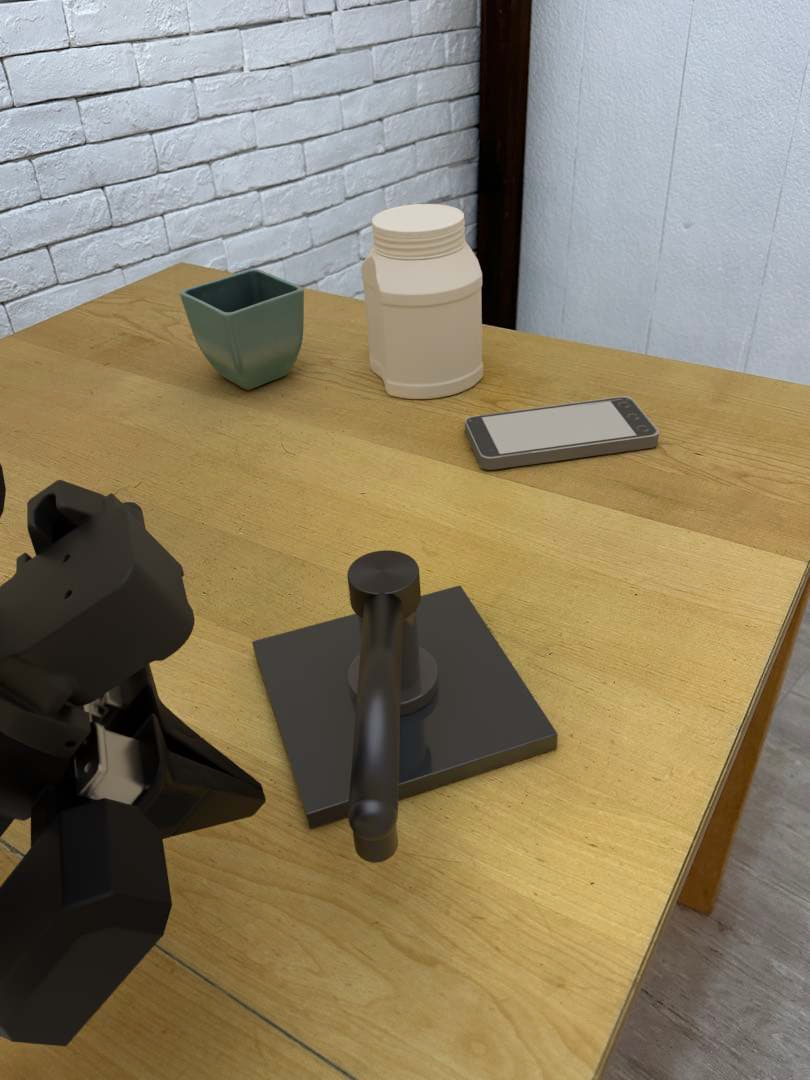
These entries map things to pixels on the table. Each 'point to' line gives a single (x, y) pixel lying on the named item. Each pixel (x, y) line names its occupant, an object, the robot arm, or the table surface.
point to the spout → (379, 696)
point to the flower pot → (247, 325)
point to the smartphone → (559, 432)
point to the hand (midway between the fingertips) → (258, 801)
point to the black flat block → (401, 703)
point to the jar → (423, 302)
